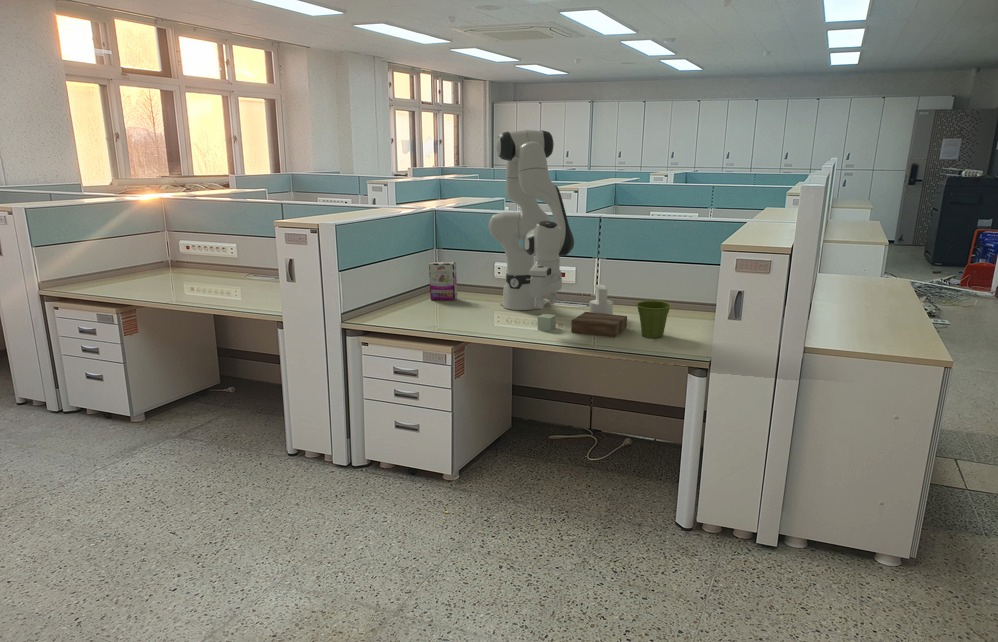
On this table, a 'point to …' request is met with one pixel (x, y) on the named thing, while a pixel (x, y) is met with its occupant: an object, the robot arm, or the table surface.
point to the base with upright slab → (601, 302)
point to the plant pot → (653, 317)
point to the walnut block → (599, 324)
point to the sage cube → (546, 322)
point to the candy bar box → (443, 281)
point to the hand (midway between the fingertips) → (546, 305)
